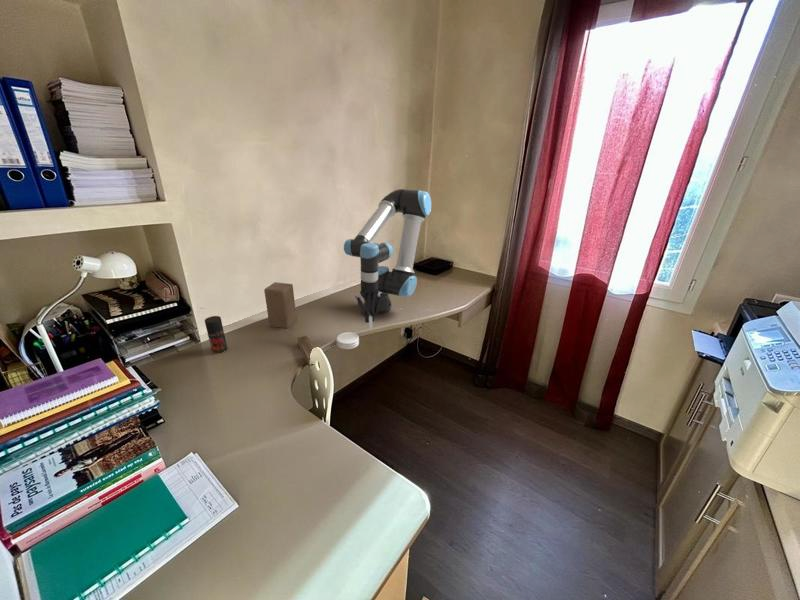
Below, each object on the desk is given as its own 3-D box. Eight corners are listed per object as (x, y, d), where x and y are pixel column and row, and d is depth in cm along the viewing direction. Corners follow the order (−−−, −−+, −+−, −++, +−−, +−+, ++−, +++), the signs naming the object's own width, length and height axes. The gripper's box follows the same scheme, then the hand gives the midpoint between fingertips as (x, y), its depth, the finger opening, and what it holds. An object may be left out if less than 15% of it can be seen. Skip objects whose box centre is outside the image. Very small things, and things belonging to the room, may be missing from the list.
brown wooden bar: (307, 342, 152) (306, 335, 150) (318, 363, 138) (318, 355, 136) (298, 344, 150) (297, 337, 149) (308, 365, 136) (308, 358, 134)
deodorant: (208, 352, 143) (201, 321, 137) (220, 345, 148) (213, 314, 142) (219, 355, 141) (212, 323, 135) (230, 348, 146) (224, 317, 140)
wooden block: (287, 329, 162) (282, 291, 154) (268, 326, 164) (263, 288, 156) (297, 319, 171) (293, 283, 163) (279, 317, 173) (274, 281, 165)
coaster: (332, 347, 149) (332, 340, 148) (343, 336, 158) (343, 330, 156) (352, 352, 146) (352, 345, 145) (362, 341, 155) (362, 334, 153)
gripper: (379, 275, 151) (379, 322, 160) (352, 279, 145) (353, 327, 154) (386, 280, 145) (385, 328, 154) (358, 284, 139) (359, 334, 148)
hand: (369, 328), depth 154 cm, fingers closed
